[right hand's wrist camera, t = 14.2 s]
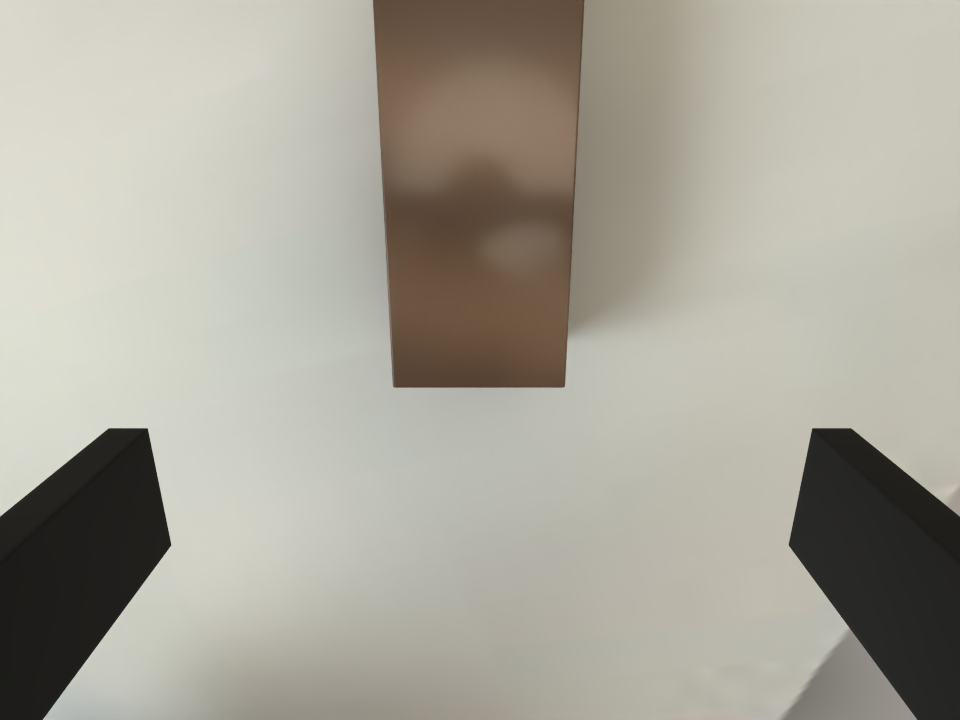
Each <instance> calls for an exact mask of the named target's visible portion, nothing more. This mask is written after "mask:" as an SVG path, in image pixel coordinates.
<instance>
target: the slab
mask: <svg viewBox="0 0 960 720" xmlns="http://www.w3.org/2000/svg"><path fill="white" fill-rule="evenodd" d="M373 9H374V28H375V47H376V67H377V86H378V105H379V125H380V144H381V163H382V183H383V202H384V221H385V241H386V260H387V279H388V299H389V318H390V337H391V357H392V376H393V387H565V374H566V354H567V334H568V314H569V295H570V275H571V255H572V235H573V215H574V195H575V175H576V155H577V135H578V115H579V95H580V76H581V56H582V36H583V16H584V0H373Z"/></svg>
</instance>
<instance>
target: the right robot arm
mask: <svg viewBox="0 0 960 720" xmlns="http://www.w3.org/2000/svg"><path fill="white" fill-rule="evenodd" d="M170 546H171V541H170V536H169V531H168V526H167V522H166V517H165V512H164V507H163V502H162V497H161V492H160V487H159V482H158V477H157V472H156V467H155V462H154V457H153V452H152V448H151V443H150V438H149V433H148V428H109V429H108V430H106V431H105V432H104V433H103V434H101V435H100V436H99V437H98V438H96V439H95V440H94V441H93V442H92V443H90V444H89V445H88V446H87V447H85V448H84V449H83V450H82V451H80V452H79V453H78V454H77V455H76V456H74V457H73V458H72V459H71V460H69V461H68V462H67V463H66V464H64V465H63V466H62V467H61V468H60V469H58V470H57V471H56V472H55V473H53V474H52V475H51V476H50V477H48V478H47V479H46V480H45V481H44V482H42V483H41V484H40V485H39V486H37V487H36V488H35V489H34V490H32V491H31V492H30V493H29V494H28V495H26V496H25V497H24V498H23V499H21V500H20V501H19V502H18V503H16V504H15V505H14V506H13V507H12V508H10V509H9V510H8V511H7V512H5V513H4V514H3V515H2V516H0V720H43V718H44V717H45V716H46V714H47V713H48V712H49V710H50V709H51V708H52V706H53V705H54V704H55V702H56V701H57V699H58V698H59V697H60V695H61V694H62V693H63V691H64V690H65V689H66V687H67V686H68V685H69V683H70V682H71V680H72V679H73V678H74V676H75V675H76V674H77V672H78V671H79V670H80V668H81V667H82V666H83V664H84V663H85V662H86V660H87V659H88V657H89V656H90V655H91V653H92V652H93V651H94V649H95V648H96V647H97V645H98V644H99V643H100V641H101V640H102V638H103V637H104V636H105V634H106V633H107V632H108V630H109V629H110V628H111V626H112V625H113V624H114V622H115V621H116V620H117V618H118V617H119V615H120V614H121V613H122V611H123V610H124V609H125V607H126V606H127V605H128V603H129V602H130V601H131V599H132V598H133V596H134V595H135V594H136V592H137V591H138V590H139V588H140V587H141V586H142V584H143V583H144V582H145V580H146V579H147V577H148V576H149V575H150V573H151V572H152V571H153V569H154V568H155V567H156V565H157V564H158V563H159V561H160V560H161V559H162V557H163V556H164V554H165V553H166V552H167V550H168V549H169V548H170ZM789 546H790V548H791V549H792V550H793V552H794V553H795V554H796V556H797V557H798V559H799V560H800V561H801V563H802V564H803V565H804V567H805V568H806V569H807V571H808V572H809V573H810V575H811V576H812V577H813V579H814V580H815V582H816V583H817V584H818V586H819V587H820V588H821V590H822V591H823V592H824V594H825V595H826V596H827V598H828V599H829V601H830V602H831V603H832V605H833V606H834V607H835V609H836V610H837V611H838V613H839V614H840V615H841V617H842V618H843V620H844V621H845V622H846V624H847V625H848V626H849V628H850V629H851V630H852V632H853V633H854V634H855V636H856V637H857V638H858V640H859V641H860V643H861V644H862V645H863V647H864V648H865V649H866V651H867V652H868V653H869V655H870V656H871V657H872V659H873V660H874V662H875V663H876V664H877V666H878V667H879V668H880V670H881V671H882V672H883V674H884V675H885V676H886V678H887V679H888V680H889V682H890V683H891V685H892V686H893V687H894V689H895V690H896V691H897V693H898V694H899V695H900V697H901V698H902V699H903V701H904V702H905V704H906V705H907V706H908V708H909V709H910V710H911V712H912V713H913V714H914V716H915V717H916V718H917V720H960V516H958V515H957V514H956V513H955V512H953V511H952V510H951V509H950V508H948V507H947V506H946V505H945V504H944V503H942V502H941V501H940V500H939V499H937V498H936V497H935V496H934V495H932V494H931V493H930V492H929V491H928V490H926V489H925V488H924V487H923V486H921V485H920V484H919V483H918V482H916V481H915V480H914V479H913V478H912V477H910V476H909V475H908V474H907V473H905V472H904V471H903V470H902V469H900V468H899V467H898V466H897V465H896V464H894V463H893V462H892V461H891V460H889V459H888V458H887V457H886V456H884V455H883V454H882V453H881V452H880V451H878V450H877V449H876V448H875V447H873V446H872V445H871V444H870V443H868V442H867V441H866V440H865V439H864V438H862V437H861V436H860V435H859V434H857V433H856V432H855V431H854V430H852V429H851V428H812V433H811V438H810V443H809V448H808V452H807V457H806V462H805V467H804V472H803V477H802V482H801V487H800V492H799V497H798V502H797V507H796V512H795V517H794V522H793V526H792V531H791V536H790V541H789Z"/></svg>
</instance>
